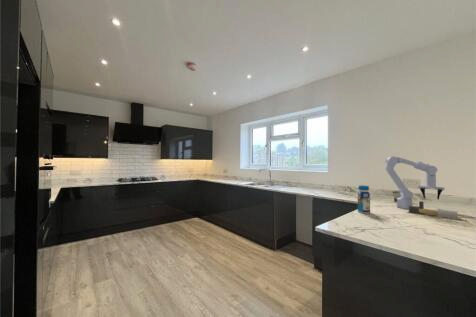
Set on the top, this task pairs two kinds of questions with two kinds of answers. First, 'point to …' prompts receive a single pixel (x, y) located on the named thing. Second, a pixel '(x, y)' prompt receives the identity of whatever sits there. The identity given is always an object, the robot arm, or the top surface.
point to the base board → (435, 216)
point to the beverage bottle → (363, 199)
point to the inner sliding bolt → (429, 211)
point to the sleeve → (447, 214)
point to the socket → (413, 209)
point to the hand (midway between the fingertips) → (431, 198)
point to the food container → (396, 195)
